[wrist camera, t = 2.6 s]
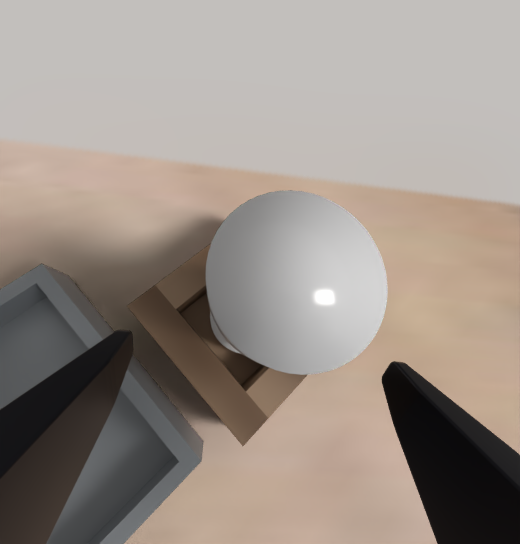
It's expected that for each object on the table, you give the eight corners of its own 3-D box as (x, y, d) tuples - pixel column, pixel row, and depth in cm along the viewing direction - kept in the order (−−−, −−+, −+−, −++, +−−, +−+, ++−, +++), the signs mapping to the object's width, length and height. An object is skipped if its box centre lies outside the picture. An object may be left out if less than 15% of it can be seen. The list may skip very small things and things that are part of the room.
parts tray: (-36, 688, 12) (-109, 789, 9) (-195, 447, 13) (-300, 475, 10) (203, 441, 16) (201, 461, 13) (68, 275, 17) (41, 263, 14)
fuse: (242, 368, 17) (302, 423, 6) (195, 314, 17) (162, 261, 6) (292, 320, 18) (420, 284, 7) (247, 270, 19) (301, 161, 7)
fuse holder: (237, 428, 17) (243, 446, 14) (140, 311, 17) (126, 306, 15) (335, 323, 20) (356, 320, 17) (249, 228, 20) (255, 210, 18)
